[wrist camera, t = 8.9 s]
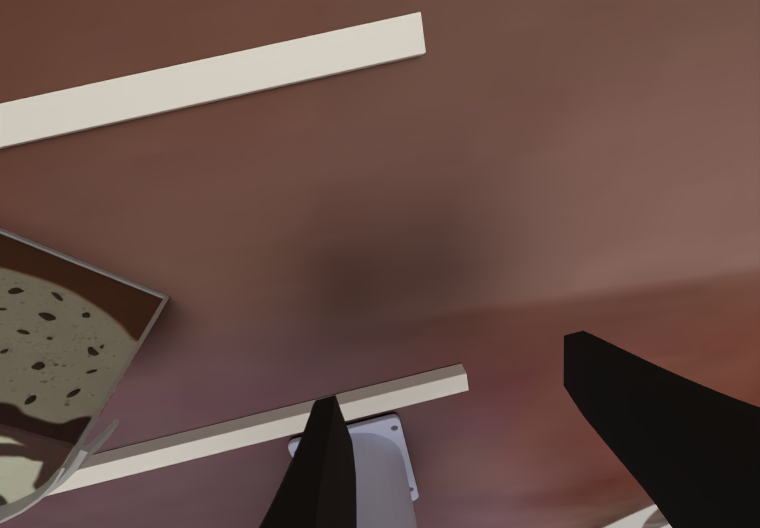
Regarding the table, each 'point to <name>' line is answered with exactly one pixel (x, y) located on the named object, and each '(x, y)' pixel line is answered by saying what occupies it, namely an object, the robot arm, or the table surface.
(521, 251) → the table surface
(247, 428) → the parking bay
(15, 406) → the food container
